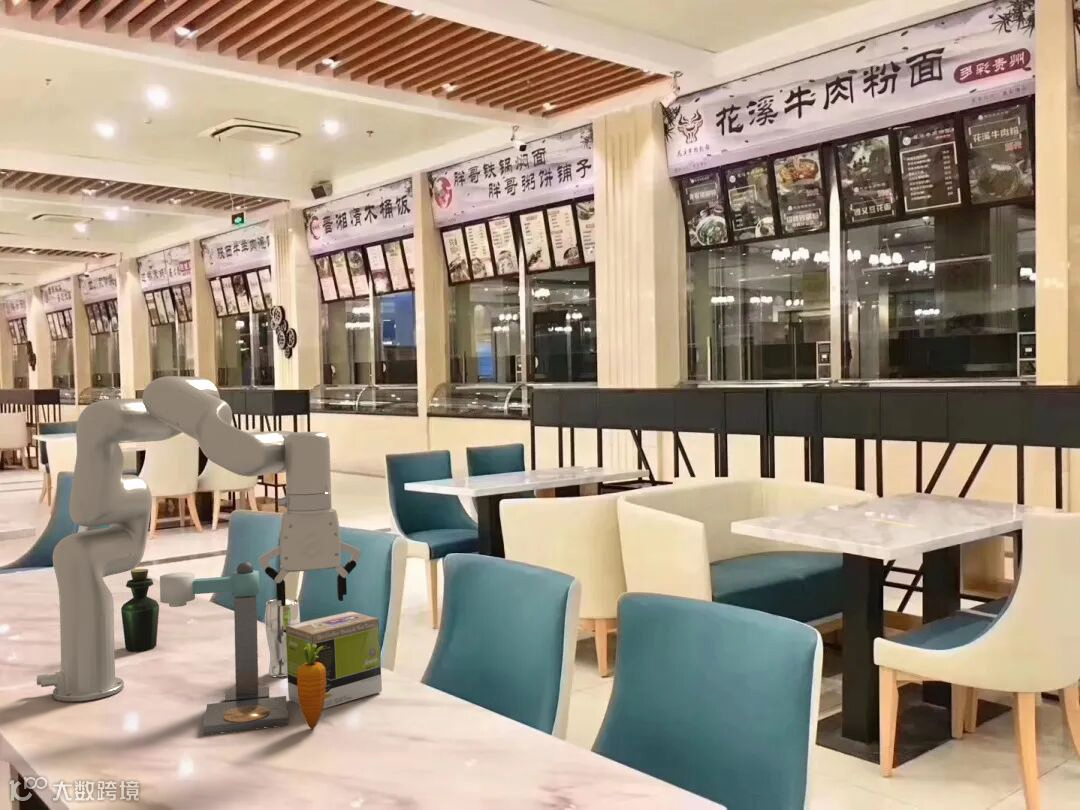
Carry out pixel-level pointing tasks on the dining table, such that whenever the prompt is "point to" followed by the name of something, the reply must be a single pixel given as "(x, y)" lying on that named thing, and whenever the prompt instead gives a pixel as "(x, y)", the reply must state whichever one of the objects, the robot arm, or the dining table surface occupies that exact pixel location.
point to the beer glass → (279, 632)
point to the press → (246, 682)
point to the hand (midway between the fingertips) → (312, 602)
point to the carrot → (311, 686)
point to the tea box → (338, 655)
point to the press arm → (207, 585)
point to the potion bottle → (140, 614)
